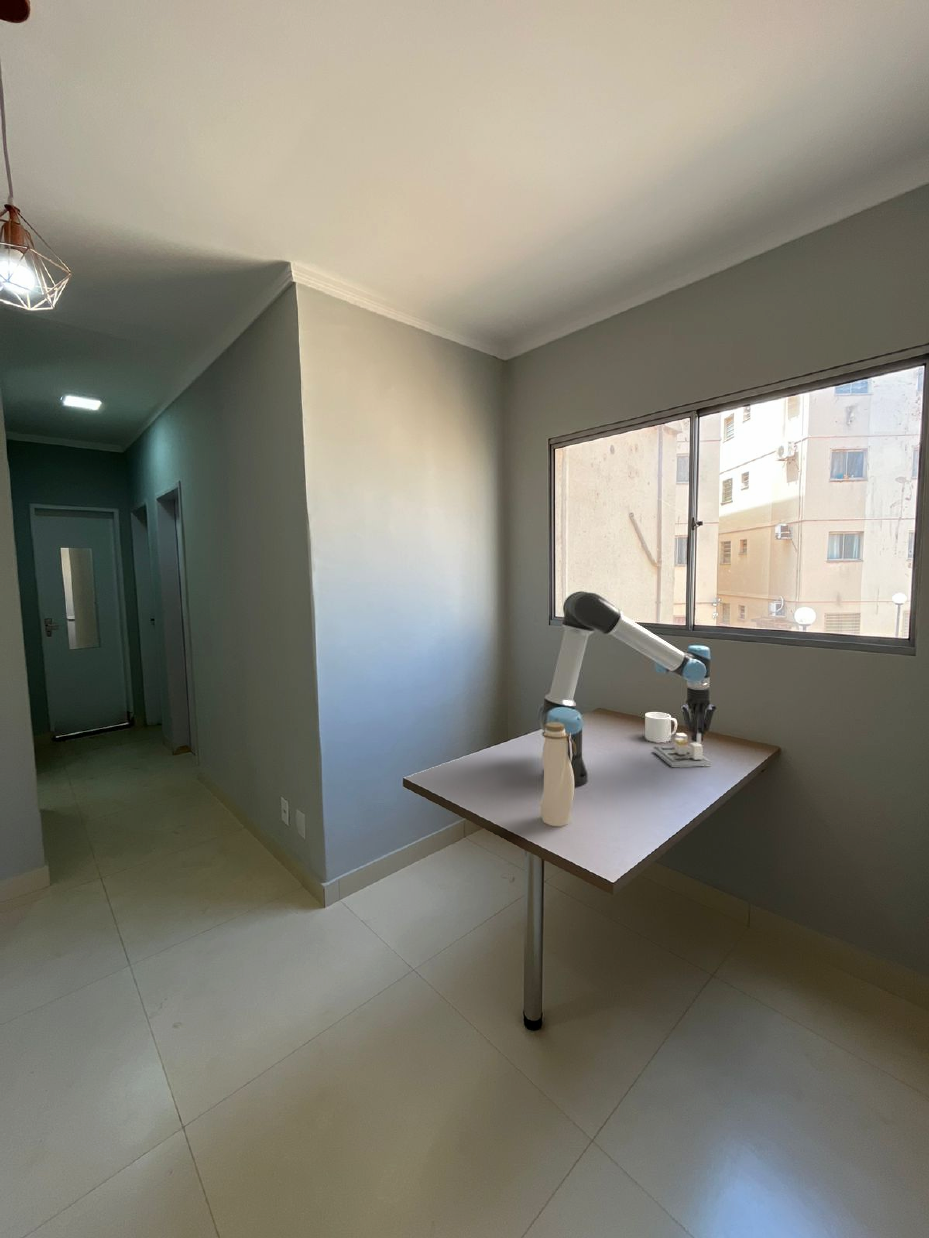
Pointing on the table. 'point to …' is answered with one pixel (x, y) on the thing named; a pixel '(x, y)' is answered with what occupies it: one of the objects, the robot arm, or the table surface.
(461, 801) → the table surface
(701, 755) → the breaker low
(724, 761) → the table surface
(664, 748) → the panel
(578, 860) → the table surface
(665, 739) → the mug
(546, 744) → the water bottle
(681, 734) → the block
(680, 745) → the block
